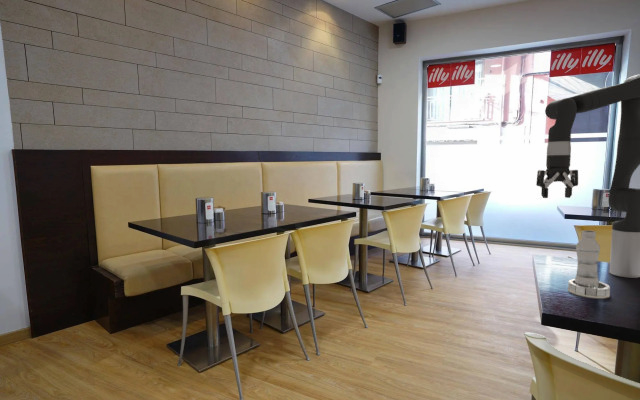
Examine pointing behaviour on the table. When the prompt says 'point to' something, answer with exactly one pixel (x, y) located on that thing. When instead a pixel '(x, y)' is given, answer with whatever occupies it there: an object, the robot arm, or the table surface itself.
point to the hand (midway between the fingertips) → (556, 197)
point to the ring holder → (589, 290)
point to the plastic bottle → (587, 260)
